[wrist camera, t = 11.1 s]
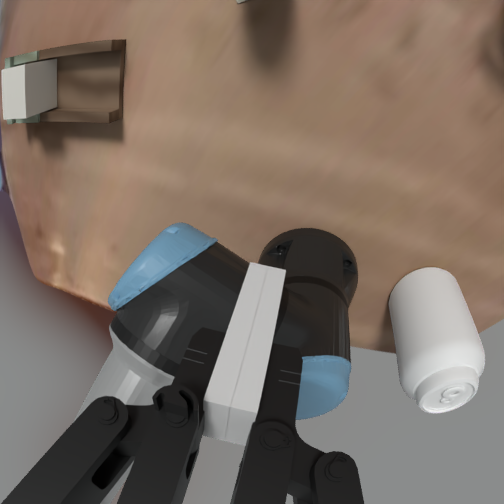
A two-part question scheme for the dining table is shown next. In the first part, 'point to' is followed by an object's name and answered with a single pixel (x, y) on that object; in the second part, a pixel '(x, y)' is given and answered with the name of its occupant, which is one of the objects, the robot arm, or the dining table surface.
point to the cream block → (29, 89)
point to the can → (435, 340)
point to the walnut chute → (82, 81)
